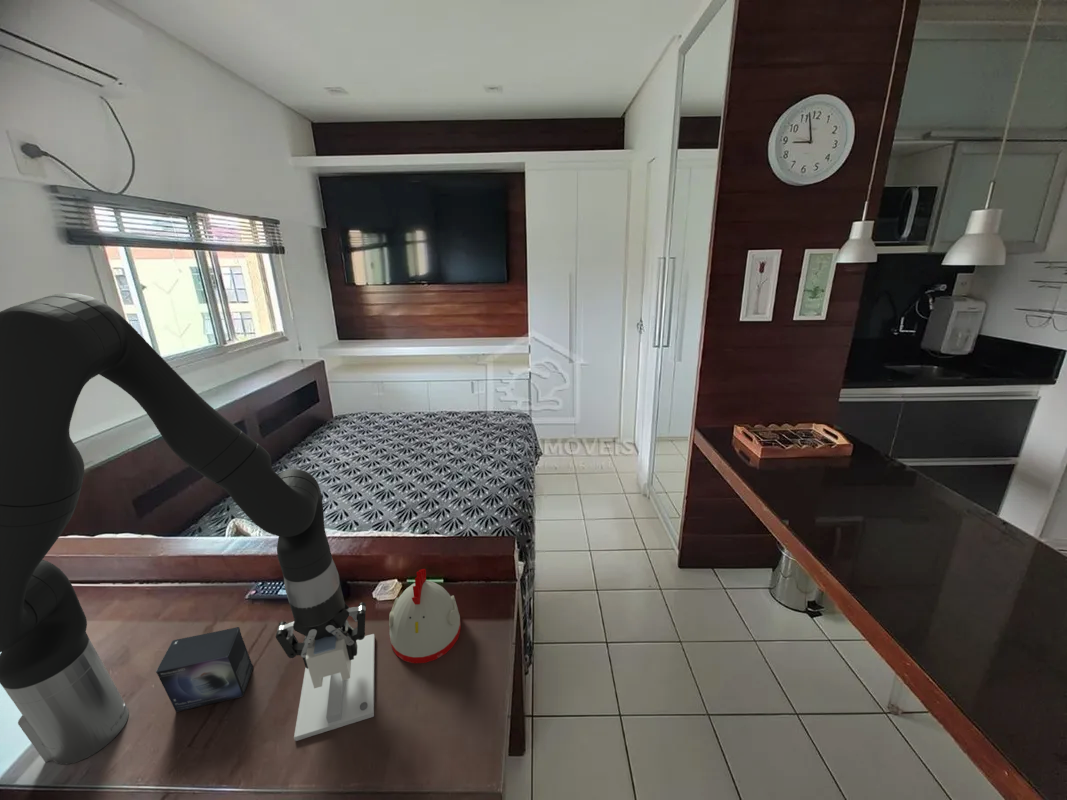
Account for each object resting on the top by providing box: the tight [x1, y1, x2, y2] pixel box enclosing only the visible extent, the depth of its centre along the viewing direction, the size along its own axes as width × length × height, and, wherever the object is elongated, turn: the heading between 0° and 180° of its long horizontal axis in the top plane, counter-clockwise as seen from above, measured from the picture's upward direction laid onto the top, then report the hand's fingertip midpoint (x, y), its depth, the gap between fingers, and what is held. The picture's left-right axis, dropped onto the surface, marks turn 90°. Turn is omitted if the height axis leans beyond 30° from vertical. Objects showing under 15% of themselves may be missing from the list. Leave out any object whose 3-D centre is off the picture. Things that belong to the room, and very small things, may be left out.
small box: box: [155, 626, 254, 713], centre depth 76 cm, size 11×6×10 cm, turn 105°
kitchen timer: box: [388, 568, 462, 664], centre depth 86 cm, size 14×14×15 cm
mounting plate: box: [293, 633, 376, 742], centre depth 79 cm, size 12×16×3 cm
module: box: [306, 636, 351, 689], centre depth 76 cm, size 6×7×7 cm
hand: (333, 660), depth 77 cm, fingers closed on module, 5 cm apart
